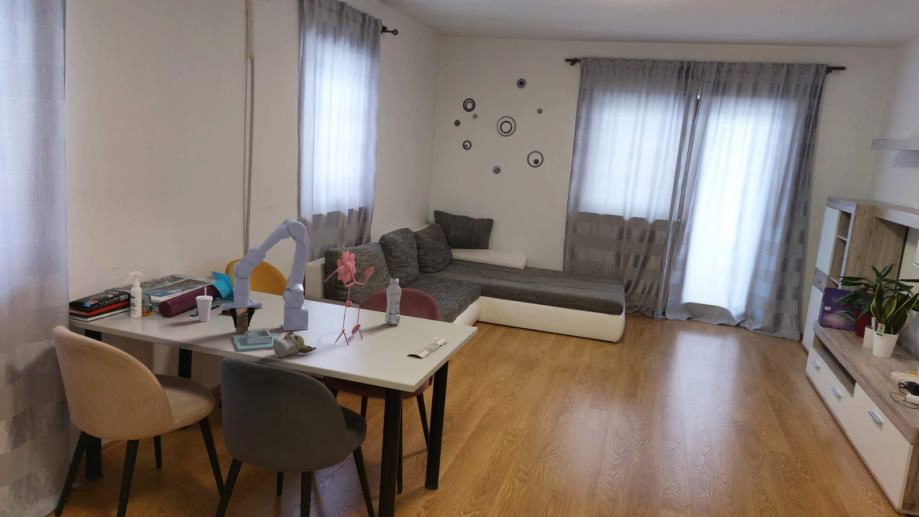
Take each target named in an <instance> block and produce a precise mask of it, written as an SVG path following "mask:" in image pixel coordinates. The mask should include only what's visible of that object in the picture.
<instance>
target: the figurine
mask: <svg viewBox="0 0 919 517" xmlns="http://www.w3.org/2000/svg"><path fill="white" fill-rule="evenodd" d="M355 256H356V255H355V253H350V251H349V250H347V251H346V252H345V251H344V252H342V253H341V259H339V258H338V259H337V261H336V264H337V269H335V270H334V271H333V272H332V274H330V275H329V276H328V277H327V278H326V279H325V280H324V282H323V283H326V282H327V281H328V280H329V279H330V278H331V277H332V276H333V275H334V274H335V273H338V275H337V280H338V281H341V280H342V282H343V284H344V286H345V288H348V292H347V293H348V294H347V300H346V301H345V303H344V306H345V309H344V314H343V322H342V330H341V332H340V333H339V335H338V337H337V338H336V340H335V342H334V343H335V344H336V343H337V342H338V340H339V339H341V337H342V335H343V336H344V339H345V342H346V344H347V346H349V345H350V343H349V340H348V337H347V335H346V333H345V331H346V328H344V327H345V319H346V313H347V308H351V307H355V308H356V309H358V313H357V320H356V325H355V326H354V327H353V328H352V329H351V335H353V336H354V335H355V334H356V333H357V332H358V333H359V336H360V339H361V340H364V338H363V335H362V332H361V329H360V328H361V323H359V319H360V311H361V308H360V306H356V305H354V304H353V302H352V301H351V300H349V299H350V293H351V292H350V291H351V288H352V287H353V286H354V285H356V284H358V285H363V286H366V284H367V282H368V280H369V278H370V276H372V275H373V274H374V273H375V268H374V266H371V267H369V268H367V269H366V270H365V272H364V276H365V278H366V279H365V283H363V282H358V281H356V279H355V277H354V275H356V273H357V269H356V266H355V265H356V262H355ZM351 279H352V280H353V282H351V283H349V284H348V285H347V283H348V282H350V281H351ZM336 333H337V332H334V334H336ZM330 334H331V335H332V334H333V332H331V333H330V332H329V333H328V334H323V336H321V338H319V340H321V339H322V338H323V337H325V336H328V335H330ZM371 336H374V335H373V334H371Z"/></svg>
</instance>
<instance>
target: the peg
mask: <svg viewBox="0 0 919 517" xmlns="http://www.w3.org/2000/svg"><path fill="white" fill-rule="evenodd" d="M236 321H237V328H235V333H236V335H244V331H249V327H248V316H247V313H246V314H237V319H236Z"/></svg>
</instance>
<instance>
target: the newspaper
mask: <svg viewBox="0 0 919 517" xmlns="http://www.w3.org/2000/svg"><path fill="white" fill-rule="evenodd" d="M444 342H445V343H446V342H447V340H446V339H445V338H443V337H439V336H437V337H436V336H435V337H432V338H431V339H428V341H425V342H424V343H423V344H421V345H420V346H418V347H417V348H415V349H414V350H412V351H411V352H410V353H408V354H407V356H409V355H410V356H411V355H415V356H418V357H420V358H421V359H424V358H425V357H427V356H428V355H430V354H431V353H433V352H434V351H435V350H436V349H438V348H439V347H441V346H442V345H444V344H445V343H444ZM443 343H444V344H443ZM440 345H441V346H440ZM437 347H438V348H437ZM433 350H434V351H433ZM426 355H427V356H426ZM410 356H409V357H410Z"/></svg>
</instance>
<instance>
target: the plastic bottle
mask: <svg viewBox="0 0 919 517" xmlns="http://www.w3.org/2000/svg"><path fill="white" fill-rule="evenodd" d="M389 278H390V277H389ZM399 280H400V279H399V278H398V277H391V278H390V279H389V283H390V284H389V285H388V287H387V288H386V313H385V315H384V322H385V324H386V325H389V326H396V325H398V324H400V320H401V314H400V303H401V298H402V297H401V296H402V288H401V286H400V285H399V284H400V281H399Z"/></svg>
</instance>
